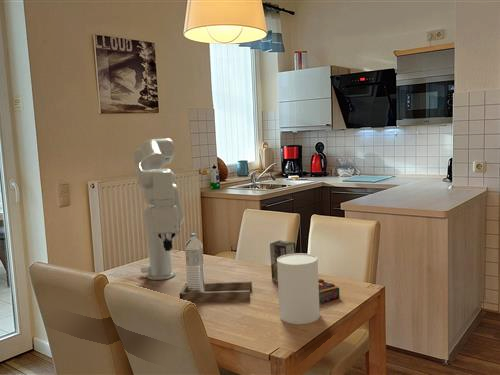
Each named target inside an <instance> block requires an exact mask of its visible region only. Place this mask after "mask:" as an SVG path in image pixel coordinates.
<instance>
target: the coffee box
mask: <svg viewBox="0 0 500 375" xmlns="http://www.w3.org/2000/svg"><path fill="white" fill-rule="evenodd" d="M269 252H270V253H269V254H270V266H271V267H270V268H271V270H270V271H271V281H272V282H277V283H278V271H277V258H278V257H280V256H283V255H287V254H295V253H297V250H296V242H292V241H285V240H276V241H274V242H271V243H269Z"/></svg>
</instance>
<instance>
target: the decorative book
mask: <svg viewBox="0 0 500 375" xmlns="http://www.w3.org/2000/svg"><path fill="white" fill-rule="evenodd" d="M318 284H319V306H322V305H323V304H324V303H326V302H329V301H334V300H336V299H339V298H340V287H339V286H336V285H335V284H334V283H328V282H326V281H325V280H324V279H322V278H321V279H320V278H318Z"/></svg>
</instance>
